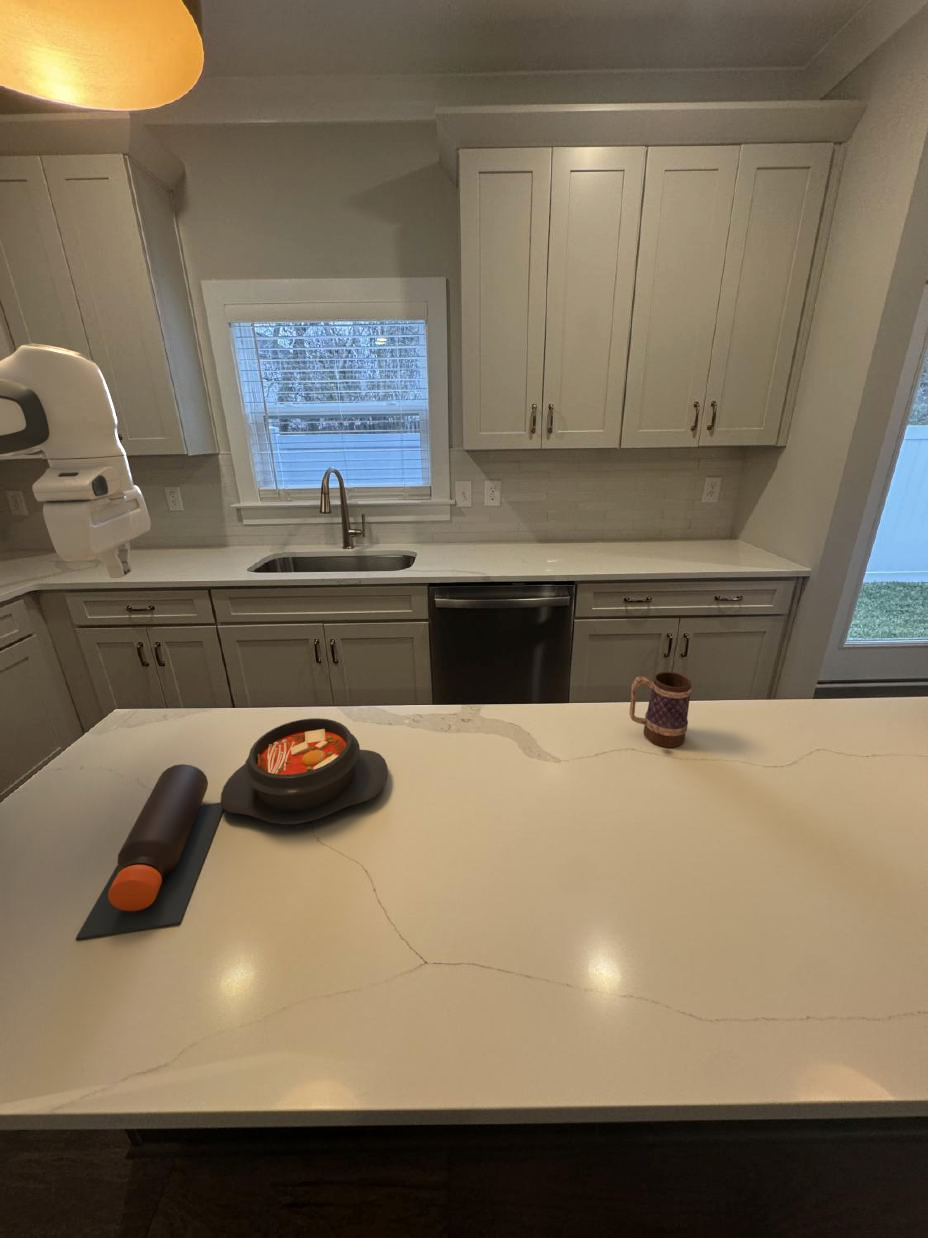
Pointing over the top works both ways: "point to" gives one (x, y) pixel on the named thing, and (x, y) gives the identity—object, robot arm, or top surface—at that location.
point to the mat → (171, 891)
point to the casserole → (304, 773)
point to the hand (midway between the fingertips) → (121, 575)
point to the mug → (664, 708)
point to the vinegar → (158, 837)
